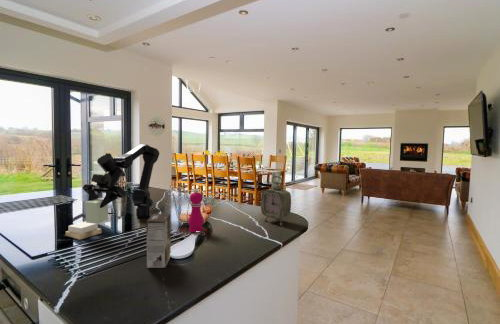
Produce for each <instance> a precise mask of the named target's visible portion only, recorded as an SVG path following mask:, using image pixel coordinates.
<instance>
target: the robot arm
mask: <svg viewBox="0 0 500 324" xmlns="http://www.w3.org/2000/svg"><path fill="white" fill-rule="evenodd" d="M141 155H142V159H143V162H144V164H143V167H142V170H141V171H142V172H141V176H140V177H141V178H140V180H139V184H138V187H137V188H136V189H134V190H133V192H132V193H133V194H132V203H133V207H136V208H135V216H136V218H137V219H146V218H148V219H149V218H150V217H151V215H150V213H151V209H150V208H151V207H152V206H153V204H154V201H153V200H152V198H151V193H150V190H149V187H150V182H151V178H152V173H153V169H154V165H155V163H156V162H157V161H158V159H159V156H160V151H159V150H158V148H157V147H156V148H155V147H153V146H151V145H148V144H146V143H139V144H138V145H137V146H135V147H134V148H132V149H131V150H128V152H126V153H124V154H119V155H117V156H115V157H114V158H113V155H112V154H111V153H107V152H106V153H105V154H103V155H101V156H100V157H98V159H97V160H96V162H97V165H99V167H101V169H102V170H103V171H104V172H105V174H97V173H94V174H92V177H91V180H90V182H91V183H86V184H85V183H84V185H83V187H82V190H84V192H85V193H86V194H87V195H88V199H87V201H91V200H94V199H100V197H99V193H102V194H103V193H104V194H105V195H104V198H103V199H102V200H103V201H102V203H101V205H100V208H103V207H104V206H106V205H107V204H108V205H109V204H110V203H111V202H114V201H115V200H118V199H124V198H125V196H126V191H125V190H124V189H123V187H122V185H121V186H120V185H119V180H120V178H121V177H126V173H125V171H124V170H122V169H125V170H126V169H129V168H130V167H131V166H132V165H133V162H134V161H135V160H136V159H137V158H139V157H140V156H141ZM93 183H95V185H94V184H93ZM96 186H97V187H96Z"/></svg>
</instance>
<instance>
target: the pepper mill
mask: <svg viewBox="0 0 500 324" xmlns="http://www.w3.org/2000/svg"><path fill="white" fill-rule="evenodd" d="M203 198H204V197H203V195H202V193H200V192H199V190H198V189H196V188H195V189H194V192H192V193H191V194H190V196H189V201H190V207H191V213H190V216H189V217H188V221H187V224H188V226H189V230H188V231H189V233H193V232H196V231H202V232H203V231H204V229H203V225H204V223H205V220H204V217H203V214H202V211H201V210H202V209H201V207H202V201H203ZM193 234H194V233H193Z"/></svg>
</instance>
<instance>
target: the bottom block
mask: <svg viewBox="0 0 500 324" xmlns="http://www.w3.org/2000/svg"><path fill="white" fill-rule="evenodd" d="M99 234H102V228H99V227H98V229H95V230H92V231H89V232H86V233H83V234H79V233H73V232H68V230H67V231H66V230H65V235H64V236H65V237H69V238H73V239H76V240H79V241H80V240H83V239H87V238H90V237H94V236H96V235H99Z"/></svg>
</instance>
